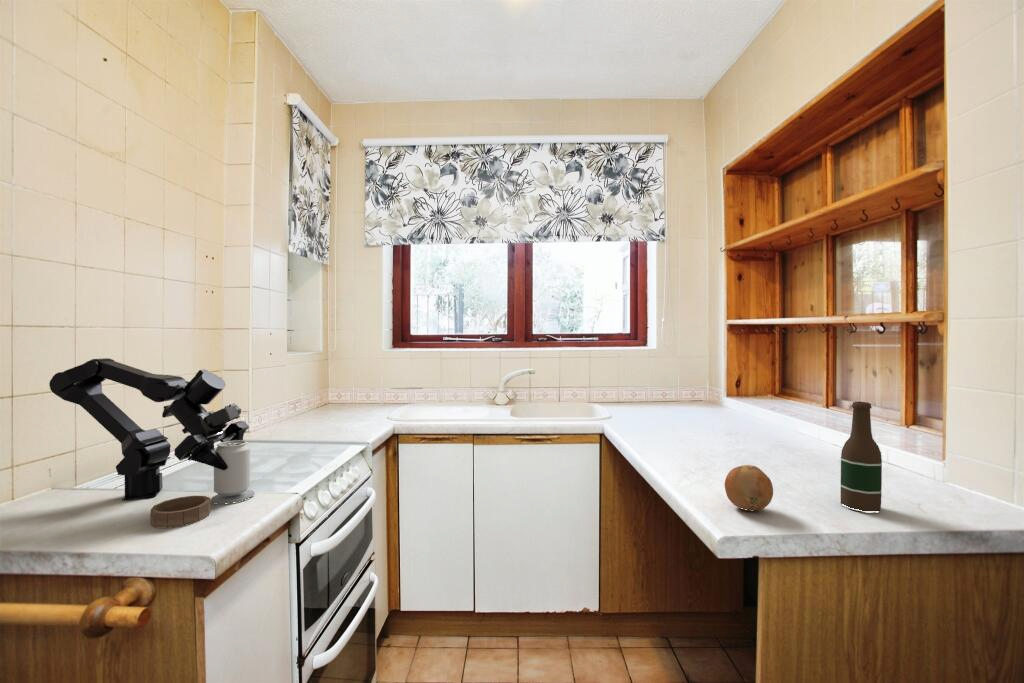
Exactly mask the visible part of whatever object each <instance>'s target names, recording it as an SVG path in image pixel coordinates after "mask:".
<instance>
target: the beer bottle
mask: <svg viewBox="0 0 1024 683" xmlns="http://www.w3.org/2000/svg"><path fill="white" fill-rule="evenodd" d="M851 408H852V421H851V430H850V435H849V438H848V439H847V440H846V441H845V442H844V444H843V446H842V449H841V453H840V504H841V503H842V504H844V505H846V506H848V507H850V508H854V509H859V510H862V511H880V512H881V508H882V485H883V484H882V480H883V479H882V478H883V476H882V474H883V473H882V471H883V470H882V469H883V465H882V464H883V459H882V452H881V449H880V447H879V445H878V443H877V442H876V441H875V439H874V438H873V433H872V421H871V409H872V408H873V407H872V404H871V403H870V402H866V401H853V402H852V405H851Z"/></svg>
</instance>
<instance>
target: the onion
mask: <svg viewBox="0 0 1024 683" xmlns="http://www.w3.org/2000/svg"><path fill="white" fill-rule="evenodd" d="M724 489H725V490H724V491H725V494H726V497H727V499H728V500H729V501H730V502H731V504H732V505H733V506H735V507H736V508H738V507H740V508H743V509H747V510H759V511H761V510H764V509H765V508H766V507H768V506H769V505H770V504H771V502H772V500H773V497H774V487H773V483H772V481H771V479H770V477H769V476H768V475H767V474H766V473H765V472H764V471H763V470H762V469H761V468H759V467H758V466H757V465H756V466H755V465H752V464H744V465H739V466H735V467H733V468H732V469H731V470H729V471H728V473H727V474H726V476H725V480H724ZM740 508H739V509H740Z"/></svg>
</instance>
